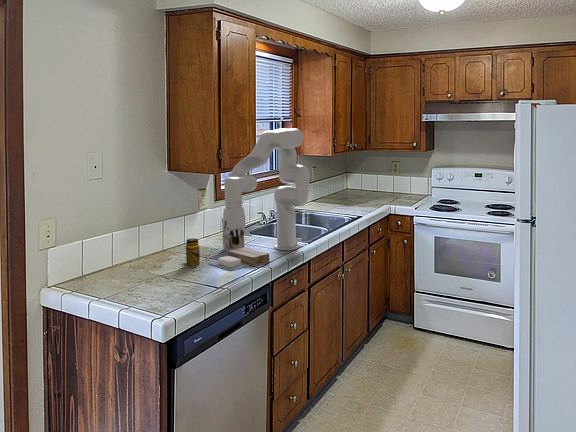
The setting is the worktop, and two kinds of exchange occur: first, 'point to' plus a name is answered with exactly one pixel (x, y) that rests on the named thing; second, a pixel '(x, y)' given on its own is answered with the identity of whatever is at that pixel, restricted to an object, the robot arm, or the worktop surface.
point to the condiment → (192, 254)
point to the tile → (229, 261)
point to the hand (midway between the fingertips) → (235, 244)
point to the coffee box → (228, 240)
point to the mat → (229, 267)
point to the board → (249, 256)
